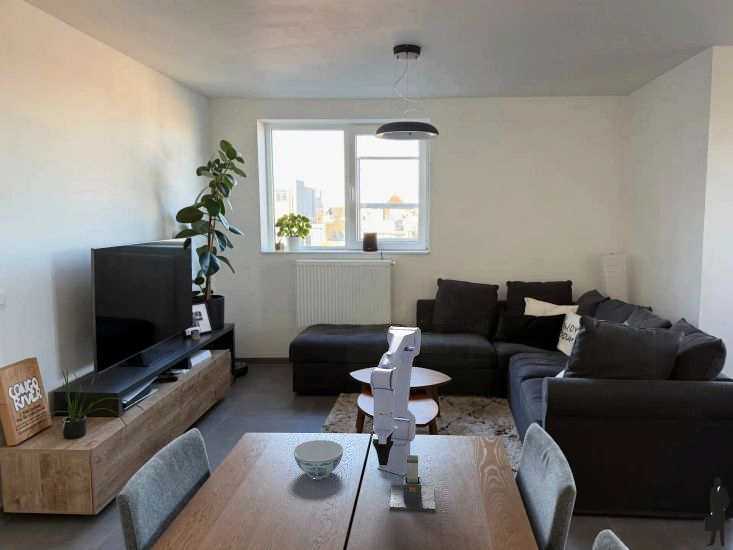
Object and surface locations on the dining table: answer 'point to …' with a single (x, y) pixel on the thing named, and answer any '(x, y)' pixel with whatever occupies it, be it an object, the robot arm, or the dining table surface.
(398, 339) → the robot arm
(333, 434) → the dining table surface
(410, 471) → the column
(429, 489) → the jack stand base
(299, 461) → the chinaware
